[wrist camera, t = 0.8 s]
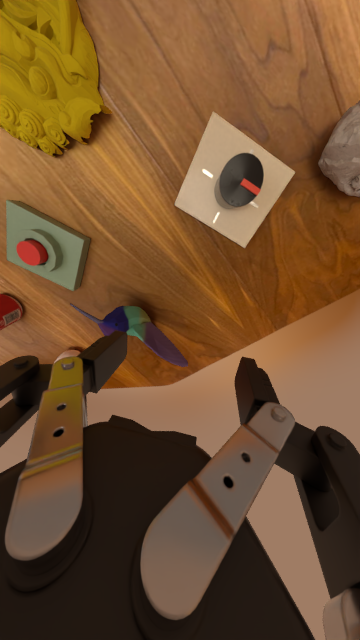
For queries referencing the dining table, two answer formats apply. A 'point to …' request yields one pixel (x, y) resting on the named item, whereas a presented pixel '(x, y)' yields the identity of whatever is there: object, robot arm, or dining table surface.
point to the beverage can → (9, 310)
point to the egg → (68, 354)
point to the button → (32, 252)
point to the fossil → (344, 153)
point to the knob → (239, 181)
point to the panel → (205, 170)
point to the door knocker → (47, 73)
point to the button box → (47, 244)
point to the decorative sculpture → (139, 331)
